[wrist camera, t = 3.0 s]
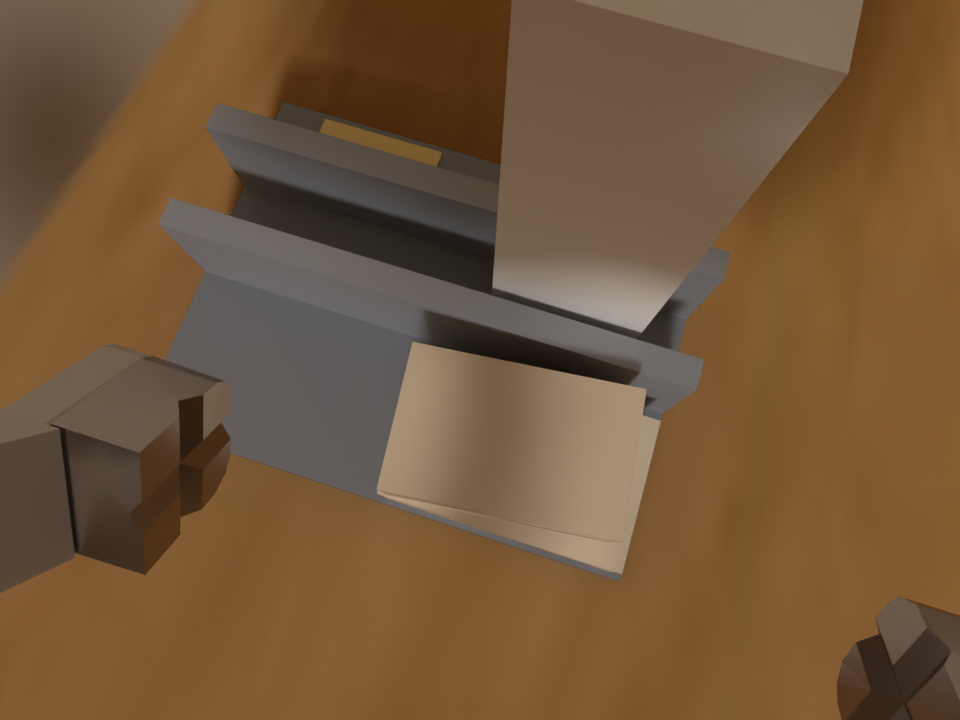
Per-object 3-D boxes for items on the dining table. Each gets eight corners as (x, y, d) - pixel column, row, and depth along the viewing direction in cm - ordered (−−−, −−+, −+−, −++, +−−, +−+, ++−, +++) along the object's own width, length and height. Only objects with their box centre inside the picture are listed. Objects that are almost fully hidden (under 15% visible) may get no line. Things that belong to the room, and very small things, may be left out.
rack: (701, 235, 28) (749, 170, 23) (613, 579, 24) (648, 589, 19) (289, 116, 29) (252, 31, 24) (149, 426, 25) (73, 398, 21)
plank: (631, 313, 26) (871, -36, 10) (618, 361, 25) (848, 74, 10) (505, 275, 26) (550, -117, 10) (490, 322, 25) (513, -16, 10)
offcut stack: (643, 428, 24) (685, 401, 20) (606, 570, 23) (641, 578, 18) (431, 362, 25) (420, 319, 20) (383, 497, 24) (360, 485, 19)
